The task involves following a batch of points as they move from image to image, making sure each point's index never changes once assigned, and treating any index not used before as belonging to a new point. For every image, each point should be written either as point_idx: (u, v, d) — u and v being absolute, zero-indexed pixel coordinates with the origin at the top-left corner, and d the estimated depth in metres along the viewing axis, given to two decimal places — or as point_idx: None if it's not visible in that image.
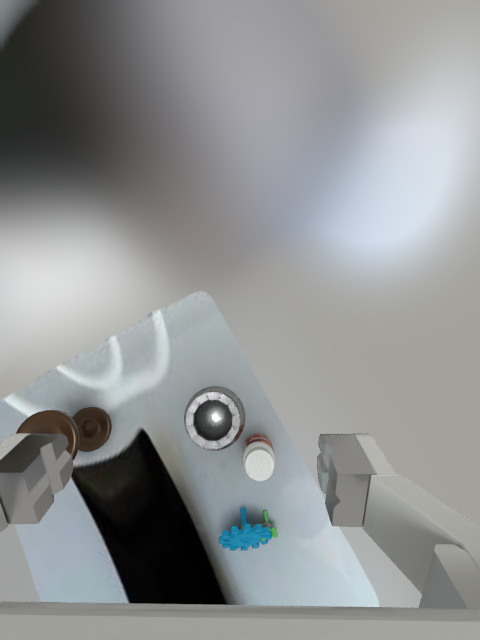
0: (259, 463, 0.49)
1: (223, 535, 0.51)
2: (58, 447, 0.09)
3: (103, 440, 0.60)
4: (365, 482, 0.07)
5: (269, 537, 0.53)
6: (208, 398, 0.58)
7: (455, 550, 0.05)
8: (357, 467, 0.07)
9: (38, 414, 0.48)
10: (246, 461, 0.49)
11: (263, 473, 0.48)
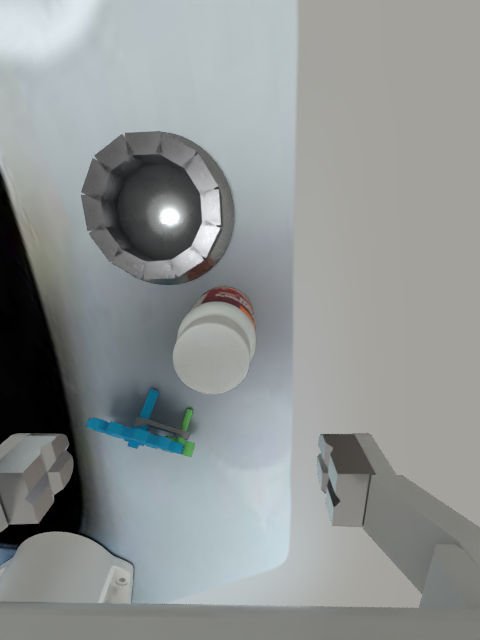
0: (212, 356, 0.18)
1: (92, 424, 0.26)
2: (58, 447, 0.09)
3: None
4: (365, 482, 0.07)
5: (177, 452, 0.30)
6: (160, 150, 0.21)
7: (455, 550, 0.05)
8: (357, 467, 0.07)
9: None
10: (182, 337, 0.18)
11: (211, 380, 0.19)
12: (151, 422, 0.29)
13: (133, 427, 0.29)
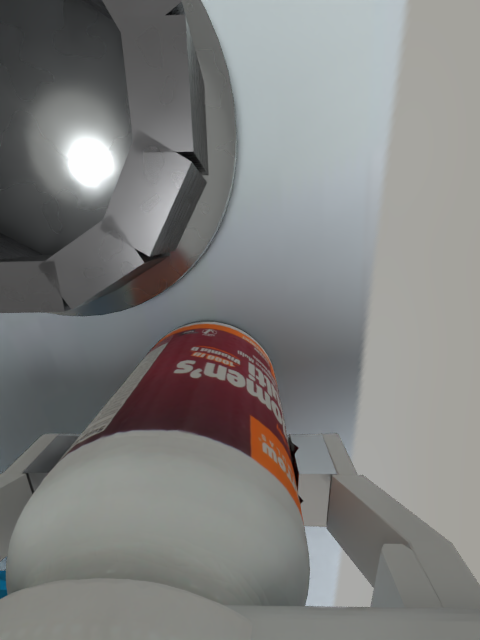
0: None
1: None
2: None
3: None
4: (326, 482, 0.07)
5: None
6: None
7: (402, 549, 0.05)
8: (319, 467, 0.07)
9: None
10: None
11: None
12: None
13: None
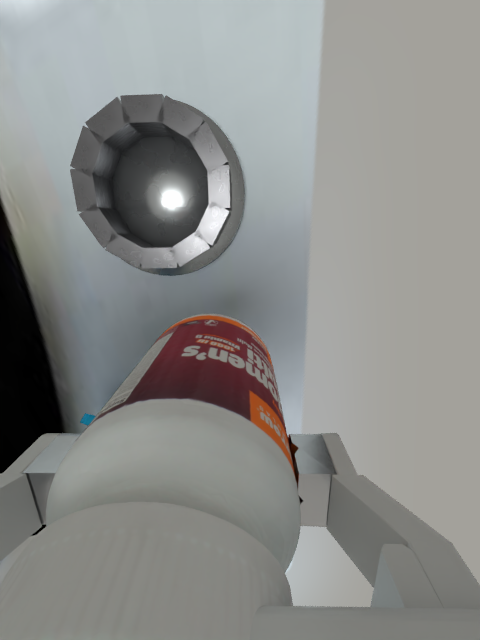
0: None
1: (88, 422, 0.23)
2: None
3: None
4: (326, 482, 0.07)
5: None
6: (161, 117, 0.18)
7: (402, 549, 0.05)
8: (319, 467, 0.07)
9: None
10: None
11: None
12: None
13: None
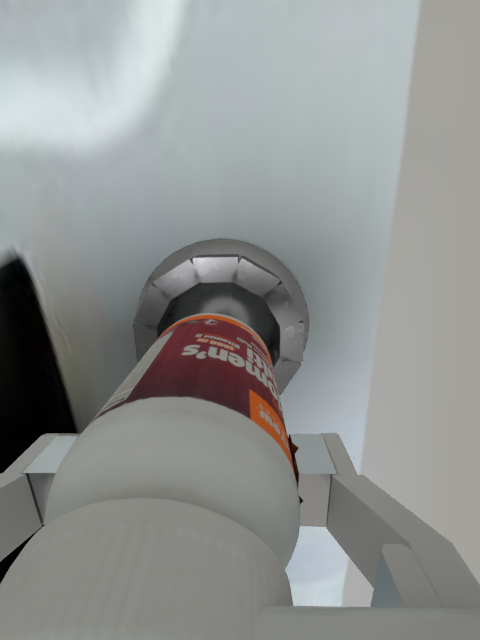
0: None
1: None
2: None
3: None
4: (326, 482, 0.07)
5: None
6: (235, 278, 0.17)
7: (402, 549, 0.05)
8: (319, 467, 0.07)
9: None
10: None
11: None
12: None
13: None
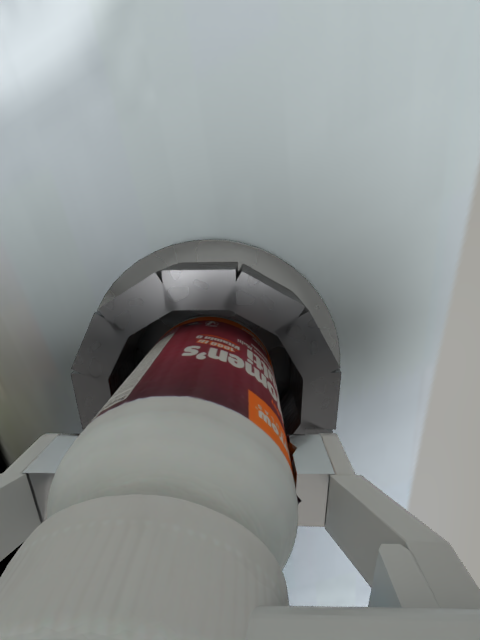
0: None
1: None
2: None
3: None
4: (324, 482, 0.07)
5: None
6: (232, 304, 0.10)
7: (400, 549, 0.05)
8: (317, 467, 0.07)
9: None
10: None
11: None
12: None
13: None
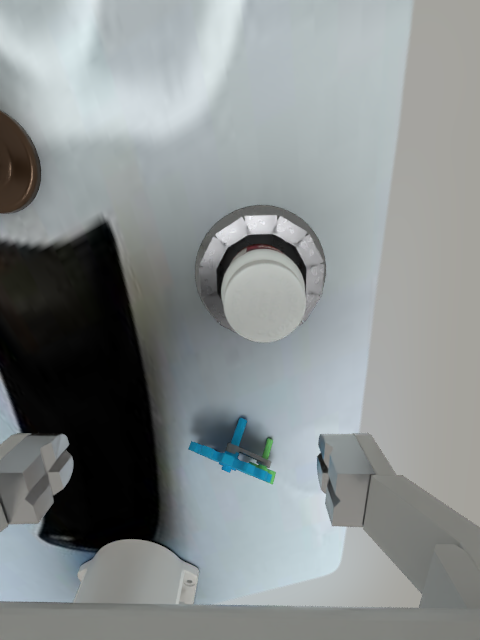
0: (265, 301, 0.17)
1: (204, 452, 0.29)
2: (58, 447, 0.09)
3: (15, 202, 0.27)
4: (365, 482, 0.07)
5: None
6: (275, 231, 0.24)
7: (455, 550, 0.05)
8: (357, 467, 0.07)
9: None
10: (236, 279, 0.17)
11: (263, 327, 0.18)
12: (243, 450, 0.32)
13: (228, 453, 0.32)
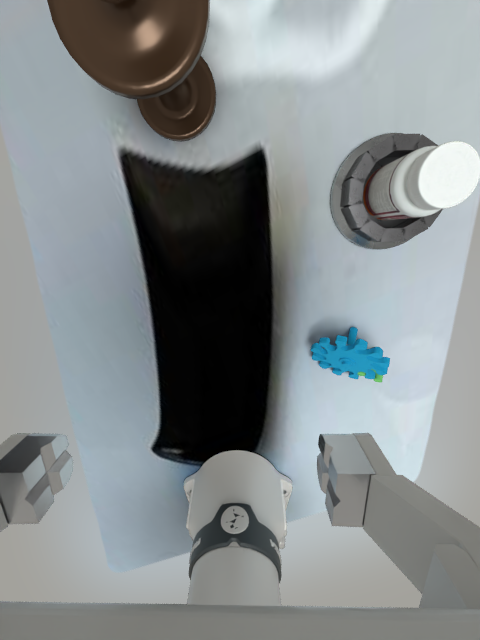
0: (451, 172, 0.23)
1: (340, 339, 0.34)
2: (58, 447, 0.09)
3: (194, 130, 0.33)
4: (365, 482, 0.07)
5: (371, 377, 0.39)
6: (416, 147, 0.30)
7: (455, 550, 0.05)
8: (357, 467, 0.07)
9: None
10: (432, 154, 0.23)
11: (445, 194, 0.24)
12: None
13: None
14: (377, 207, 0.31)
